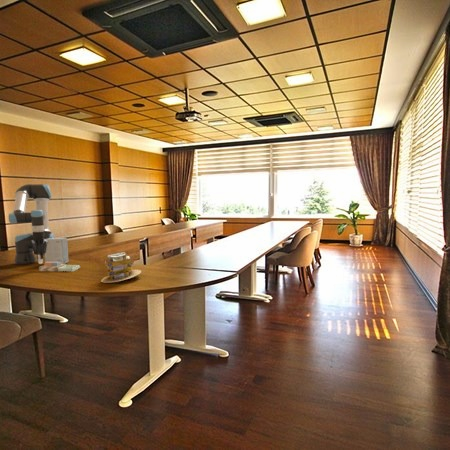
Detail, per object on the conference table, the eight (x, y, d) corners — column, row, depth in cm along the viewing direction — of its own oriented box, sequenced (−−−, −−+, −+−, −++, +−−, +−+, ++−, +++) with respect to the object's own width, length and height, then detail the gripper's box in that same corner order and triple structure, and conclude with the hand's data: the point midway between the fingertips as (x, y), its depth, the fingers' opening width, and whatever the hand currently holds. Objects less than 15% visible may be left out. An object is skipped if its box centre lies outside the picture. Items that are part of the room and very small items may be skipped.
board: (39, 271, 219) (38, 267, 219) (48, 267, 229) (48, 263, 229) (57, 271, 218) (57, 267, 217) (66, 268, 227) (65, 264, 227)
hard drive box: (69, 262, 246) (67, 237, 244) (63, 264, 239) (61, 239, 237) (51, 262, 248) (49, 237, 246) (44, 264, 240) (42, 239, 238)
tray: (57, 271, 218) (57, 268, 217) (66, 268, 227) (66, 264, 227) (72, 271, 216) (72, 268, 216) (80, 268, 226) (80, 265, 226)
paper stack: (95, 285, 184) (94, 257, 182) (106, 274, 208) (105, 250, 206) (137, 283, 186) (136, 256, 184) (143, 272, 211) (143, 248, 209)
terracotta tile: (44, 266, 221) (44, 262, 221) (48, 264, 226) (48, 261, 225) (50, 266, 221) (49, 262, 221) (54, 264, 225) (54, 261, 225)
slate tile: (51, 266, 221) (51, 262, 220) (55, 264, 225) (55, 261, 225) (57, 266, 220) (57, 262, 220) (61, 264, 225) (61, 261, 224)
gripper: (26, 231, 218) (28, 264, 221) (43, 231, 217) (45, 264, 219) (33, 230, 226) (36, 262, 228) (50, 230, 224) (52, 262, 227)
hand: (40, 263), depth 224 cm, fingers closed
